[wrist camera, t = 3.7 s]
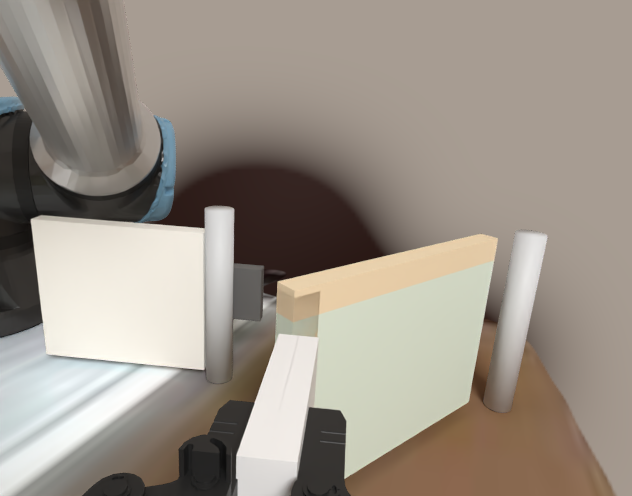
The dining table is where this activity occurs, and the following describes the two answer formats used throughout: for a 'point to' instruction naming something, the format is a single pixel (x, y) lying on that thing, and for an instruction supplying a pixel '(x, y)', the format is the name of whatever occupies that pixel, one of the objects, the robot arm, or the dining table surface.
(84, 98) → the robot arm
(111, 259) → the fence
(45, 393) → the dining table surface
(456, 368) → the gate
